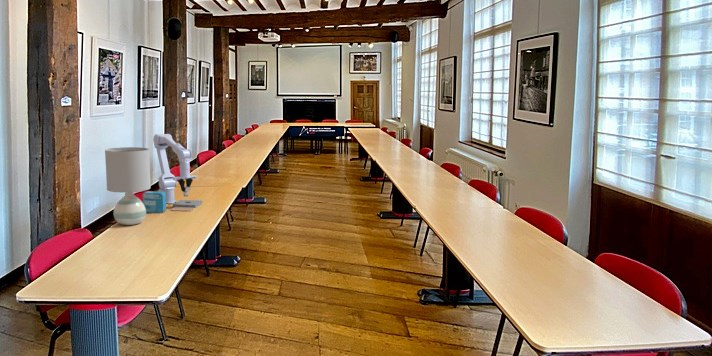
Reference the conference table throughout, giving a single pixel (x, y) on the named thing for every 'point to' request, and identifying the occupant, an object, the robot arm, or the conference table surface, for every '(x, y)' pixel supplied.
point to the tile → (182, 209)
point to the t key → (186, 190)
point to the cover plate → (187, 203)
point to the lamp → (128, 181)
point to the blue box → (154, 202)
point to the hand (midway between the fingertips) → (185, 191)
